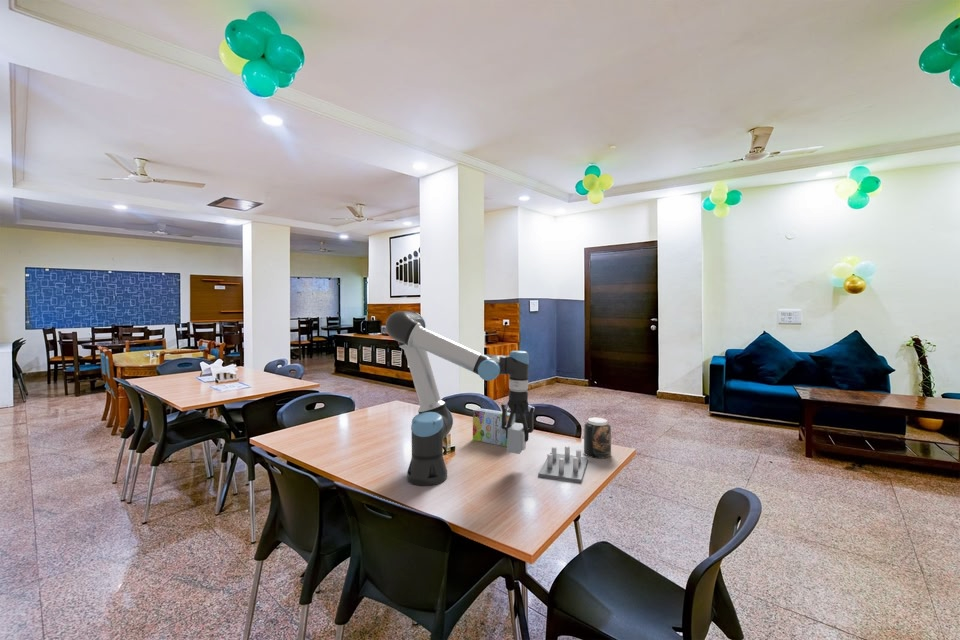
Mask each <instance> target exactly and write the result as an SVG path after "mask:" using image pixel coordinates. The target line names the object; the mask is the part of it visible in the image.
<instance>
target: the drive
mask: <svg viewBox="0 0 960 640" xmlns="http://www.w3.org/2000/svg"><path fill="white" fill-rule="evenodd" d="M523 433H524V428H523V423H522V422H515V423H514V424H513V425H512V426H511V427H509V428H508V435H507V447H506V452H507V453H511V454H517V455H520V454H521V453H522V451H523V450H522V437H523Z"/></svg>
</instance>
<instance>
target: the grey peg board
mask: <svg viewBox="0 0 960 640" xmlns="http://www.w3.org/2000/svg"><path fill="white" fill-rule="evenodd" d="M557 451H558V449H557V447H556V446H551V452H549V453H548V454H547V455H546V456H547V458H546V459H545V461H544V463H543V464H542V466H541V467H540V469H539V472H538V474H537V477H539V478H540V477H541V478H547V479H552V480H560V481H564V482H565V481H566V482H573V483H578V484H582V482H583V478H584V475H585V471H586V469H587V468H586V467H587V465H588V462H589V456H588V457H587V456H582V450H580V449H576V450H575V455H572V454H571V447H570V446H569V445H565V446H564V454H562V453H557ZM587 461H588V462H587Z"/></svg>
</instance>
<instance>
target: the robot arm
mask: <svg viewBox="0 0 960 640" xmlns="http://www.w3.org/2000/svg"><path fill="white" fill-rule="evenodd" d="M426 326H427V325H426V321H425V318H424V317H423V316H422V315H421V314H419V312H415V311H413V310H407V311H405V310H403V311H402V310H399V311H398V310H397V311H395V312H393V313H391V314H390V315H389V316H388V317H387V319H386V321H385V331H386V333H387V335H388V336H389V337H390V338H391V339H392V340H394V341H396V342H397V344H398V347H399V348H401V350H402V349H403V351H404V355H405V358H406V360H407V364H408V367H409V371H410V374H411V378H412V380H413V385H414V389H415V391H416V392H415V393H416V395H417V398H418V402H419V408H418V410H417V412H418V413H417V414H416V415H414V416H413V417H412V419H411V425H410V431H411V459H410V463H409V464H408V465H409V466H408V469H407V471H406V480H407V482H409V483H410V484H412V485H416V486H422V487H423V486H425V487H426V486H434V485H438V484H441V483H444V481H446V480H447V479H448V469H447V466H446V463H445V460H444V457H443V456H444V455H443V453H444V452H443V451H444V450H443V448H444V445H443V442H444V439H445V438H446V436H447V435H448V434H449V433H450V432H451V430H452V428H453V424H454V417H453V413H451V411H450V410H449V409H448V408H447V407H448V406H447V405H446V401H444V400H442V399H441V396H440V393H439V389H438V387H437V383H436V379H435V376H434V372H433V369H432V366H431V363H430V359H429V355H428V353H430V354H433V355H435V356H437V357H439V358H441V359H443V360H446V361H448V362H450V363H452V364H454V365H457V366H459V367H461V368H464V369H465V370H468V371H470V372H471V373H474V374H476V375H477V376H478V375H479V378H481V379H482V380H484V381H485V382H486V381H489V382H490V381H492V380H495V379H496V378H498V377H499V375H506V376H507V375H509V376H508V377H509V378H508V379H509V380H508V388H509V390H508V401H507V402H506V403H505V402H504V403H502V404H501V405H500V408H501V411H502V429H505V430H506V439H507V435H508V428H509V427H511V425H512V421H513V418H514V415H515V416H516V414H518V415H519V416H520V419H521V423H522V424H523V428H524V433H523V437H522V451H525V450H526V447H527V442H528V441H529V436H530V435H529V434H530V433H531V434H532V433H533V431H534V425H535V424H534V416H535V415H534V413H535V411H536V410H535V409H536V407H535V406H532V405H529V401H528V400H529V399H528V398H529V397H528V395H529V391H528V390H529V371H530V370H529V368H530V362H529V361H530V360H529V359H530V358H529V352H528V351H525V350H512V351H510V352H509V355H501V354H498V355H497V354H483V353H480V352H478V351H477V350H475V349H474V350H473V349H472V348H469V347H467V346H465V345H463V344H461V343H458V342H456V341H454V340H452V339H449V338H448V337H445V336H443V335H440V334H439V333H437V332H435V331H432V330H430V329H427V328H426ZM508 408H509V410H510V412H509V413H510V417H509V420H508V423H507V426H506V418H507V412H508ZM527 409H528V420H527V416H526V410H527Z"/></svg>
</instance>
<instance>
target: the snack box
mask: <svg viewBox="0 0 960 640" xmlns="http://www.w3.org/2000/svg"><path fill="white" fill-rule="evenodd" d="M509 417H510V412H508V411H507V418H506V426H507V423H508V420H509ZM514 423H516V414H515V415H514V418H513V421H512V425H513V424H514ZM512 425H511V426H512ZM472 440H473V441H478V442H481V443H487V444H492V445H496V446H497V445H498V446H501V447H502V446H503V447H506V448H507V439H506V430H505V429H502V410H494V409H489V408H488V409H486V408H480V407H478V408H475V409H473V410H472Z"/></svg>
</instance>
